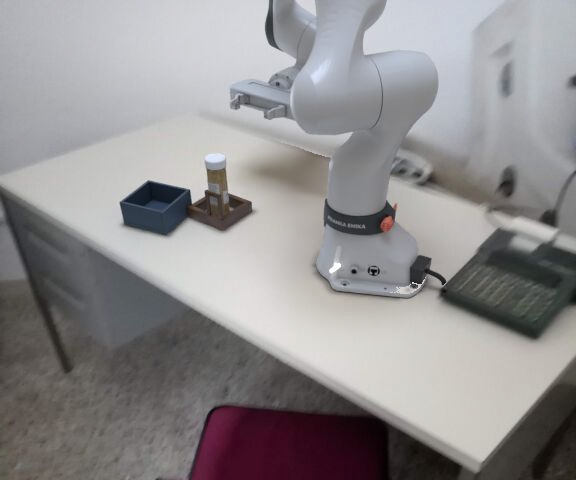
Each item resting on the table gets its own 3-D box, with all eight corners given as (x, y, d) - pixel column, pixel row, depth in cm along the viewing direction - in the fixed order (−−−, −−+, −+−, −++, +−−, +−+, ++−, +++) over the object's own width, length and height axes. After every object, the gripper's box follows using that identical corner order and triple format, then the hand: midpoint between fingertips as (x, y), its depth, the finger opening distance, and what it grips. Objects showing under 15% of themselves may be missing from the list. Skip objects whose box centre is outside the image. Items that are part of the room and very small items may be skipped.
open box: (193, 211, 137) (190, 189, 133) (166, 235, 130) (162, 212, 126) (152, 202, 141) (148, 179, 137) (124, 224, 133) (119, 202, 129)
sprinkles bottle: (234, 215, 136) (229, 158, 126) (216, 221, 134) (210, 163, 125) (224, 207, 139) (219, 150, 129) (207, 212, 137) (200, 155, 127)
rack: (252, 211, 137) (250, 178, 131) (223, 231, 131) (219, 197, 126) (218, 198, 141) (215, 166, 136) (188, 216, 136) (183, 183, 130)
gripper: (250, 67, 139) (211, 85, 132) (323, 86, 131) (286, 106, 123) (252, 95, 144) (214, 114, 136) (322, 115, 135) (286, 136, 128)
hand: (249, 110), depth 130 cm, fingers open, 8 cm apart
